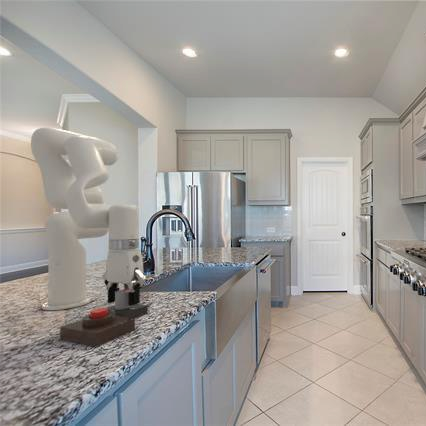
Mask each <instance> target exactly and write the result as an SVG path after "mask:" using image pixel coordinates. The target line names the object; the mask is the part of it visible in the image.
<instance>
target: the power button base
mask: <svg viewBox="0 0 426 426" xmlns="http://www.w3.org/2000/svg"><path fill="white" fill-rule="evenodd" d="M135 324H136V318H129V317H123V316H116V315H115V312H113V311H108V315H107V316H105V317H100V318H90V313H88V314H86V315H84V316H82V318H81V319H80V320H77V321H74V322H72V323H68V324H65V325H62V326H59V340H60V341H63V342H64V341H65V342H68V343H74V344H79V345H85V346H89V347H95V348H96V347H99V346H100V345H103V344H106V343H107V342H110V341H111V340H115V339H117V338H119V337H121V336H125V335H126V334H129V333H131V332H134V331H135V330H136V325H135Z"/></svg>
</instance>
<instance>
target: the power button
mask: <svg viewBox="0 0 426 426" xmlns="http://www.w3.org/2000/svg"><path fill="white" fill-rule="evenodd" d="M89 314H90V318H100V317H105V316H107V315H108V308H107V307H97V308H94V309H92V310H90V311H89Z"/></svg>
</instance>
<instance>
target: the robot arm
mask: <svg viewBox="0 0 426 426" xmlns="http://www.w3.org/2000/svg"><path fill="white" fill-rule="evenodd" d="M30 148H31V153H32V156H33V158H34V160H35V162H36V164H37V166H38V168H39V170H40V174H41V180H42V186H43V189H44V196H45V200H46V202H47V205H48V206H49V207H51V208H52V209H57V210H65V211H57V212H53V213H51V214H50V215H48V216H47V217H46V218H45V219H44V231H45V235H46V240H47V248H48V249H47V250H48V252H47V253H48V266H47V267H48V269H47V270H48V273H47V274H48V275H47V277H48V278H47V279H48V282H47V283H48V284H47V285H48V287H47V289H48V291H47V292H46V293H45V294H44V297H45V298H47V301H46V302H44V303H42V304H41V310H44V311H59V310H60V311H61V310H67V309H68V310H69V309H74V308H79V307H81V306H84V305H88V304H89V303H91V302H92V297H91V296H89V295H86V293H87V290H86V289H87V251H86V248H85V247H84V246H83V244H82V243H81V242H80V241H79V240H82V239H83V240H84V239H94V238H95V239H96V238H102V237H104V236H106V235H108V251H107V257H106V265H105V272H104V273H102V275H101V277H102V279H103V282H104V284H105V288H106V290H107V304H113V303H115V292H116V291H118V290H120V287H119V285H120V284H121V285H122V284H123V285H124V284H127V285H128V287H129V289H130V292H129V293H128V305H129V306H132V305H135V304H140V299H141V297H140V295H141V294H140V293H141V291H142V288H143V286H144V285H145V283H146V281H147V276H145V275H144V268H143V262H144V260H143V261H142V259H143V254H142V251H141V248H140V210H139V209H140V208H139V207H138V206H137V205H136V204H135V205H134V204H113V203H111V204H110V203H106V199H105V195H104V192H103V191H102V189H101V188H100V187H99V186H101V185H103V184H105V183H106V182H107V181H108V180H109V178H110V175H109V172H108V170H107V167H106V166H108V167H109V166H113V165H115V164H116V163H117V162H118V159H119V152H118V149H117V148H116V146H115V145H114V144H113V143H111V142H110V141H107V140H103V139H100V138H97V137H94V136H90V135H86V134H81V133H77V132H73V131H70V130H69V131H68V130H66V129H65V130H64V129H60V128H55V127H39V128H37V129H35V130H34V131H33V133H32V135H31V138H30ZM63 156H67V159H68V161H69V162H68V161H67V160H66V159H65V158H63ZM67 210H68V211H67ZM133 284H135V286H134V287H133Z"/></svg>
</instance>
